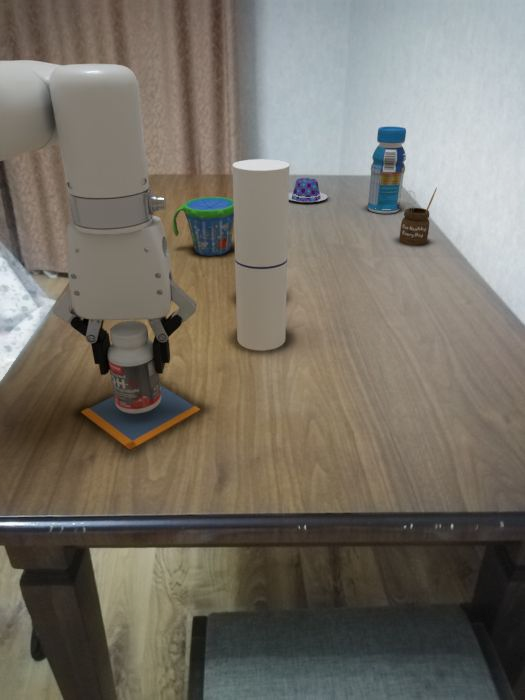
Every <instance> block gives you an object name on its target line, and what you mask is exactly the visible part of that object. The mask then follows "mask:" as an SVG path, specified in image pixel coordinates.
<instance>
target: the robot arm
mask: <svg viewBox="0 0 525 700" xmlns="http://www.w3.org/2000/svg"><path fill="white" fill-rule="evenodd" d="M141 101H142V100H141V94H140V86H139V81H138V78H137V76H136V74H135V72H134V71H133V70H131V68H129V67H128V66H125V65H121V64H114V63H75V64H73V63H72V64H65V65H64V64H63V65H62V64H56V63H51V62H45V61H39V60H31V59H17V60H15V59H14V60H0V162H2V161H6V160H10V159H13V158H16V157H19V156H22V155H24V154H28V153H31V152H35V151H40V150H43V149H46V148H49V147H50V148H51V147H53V146H59V150H60V151H59V152H60V157H61V162H62V169H63V172H64V179H65V185H66V190H67V195H68V201H69V207H70V212H71V213H70V214H71V217H72V219H71V220H70V221H69V222H68V224H67V229H66V254H67V255H66V261H67V262H66V263H67V275H68V285H69V288H68V289H67V290H66V292H65V293H64V294H63V295H62V297H61V298H60V300H58V302H57V303H56V305H55V306H54V308H53V309H52V312H53V314H54V315H55V316H56V317H58V318H59V319H61V320H62V321H64V322H66V323H68V324H69V325H70V327H72V328H73V329H74V330H75V331H77V332H78V333H80V334H81V335H82V336H83V337H85V341H86V342H87V343H89V344H91V351H92V356H93V363H94V364H95V365H98V367H99V373H100V375H101V376H105V375H107V374H108V373H110V369H109V363H108V357H107V352H108V349H109V347H110V346H111V345H112V344H111V338H110V332H108V330H105V329H104V325H105V321H113V320H114V321H115V320H116V321H119V320H122V321H123V320H124V321H132V320H147V322H148V324H149V326H150V328H151V331H152V332H153V335H154V338H153V340H152V342H153V353H154V362H155V370H156V373H158V374H159V375H162V374H163V373H164V370H165V365H166V364H170V362H171V349H170V340H169V337H171V336H172V335H173V334H174V333H175V332H176V331H177V330H178V329H179V328H180V326H182V324H183V323H184V322H186V321H187V320H188V319H189V318H191V317H192V316H193V315H194V314H195V313H196V312H197V307H198V304H197V303H196V301H195V300H194V299H193V298H192V297H191V296H189V295H188V293H186V291H184V289H182V288H181V287H180V286H179V285H178V284H177V283H176V282H175V281H174V275H173V274H174V273H173V268H172V267H173V266H172V260H171V254H170V250H169V244H168V239H167V236H166V232H165V229H164V225H163V223H162V222H163V221H162V218H161V217H159V216H156V215H154V214H155V213H156V212H157V213H158V212H159V211H166V210H167V198H166V196H165V195H158V194H154V191H152V187H151V186H150V181H149V170H148V161H147V151H146V141H145V133H144V123H143V122H144V121H143V111H142V103H141ZM172 302H173V303H174V304H175V305H176V306H177V307H178V308H177V309H176V310H175V311H173V312H172V313H171V304H172ZM170 313H171V314H170ZM169 314H170V315H169ZM168 315H169V316H168Z"/></svg>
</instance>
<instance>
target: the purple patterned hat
mask: <svg viewBox="0 0 525 700" xmlns="http://www.w3.org/2000/svg"><path fill="white" fill-rule="evenodd" d="M293 194H296V195H298V196H305V197H311V196H317V195H318V194H320V196H318V197H315V198H313V197H312V198H299V197H296V196H293ZM326 199H328V195H327V194H325V193H322V192H321V191H320V187H319V182H318V180H317V179H315V178H312V177H301V178H298V179H296V181H295V183H294V187H293V191H291V192H290V191H289V201H293V202H296V203H306V204H307V203H316V202H322V201H324V200H325V201H326Z"/></svg>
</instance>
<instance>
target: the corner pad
mask: <svg viewBox="0 0 525 700" xmlns="http://www.w3.org/2000/svg"><path fill="white" fill-rule="evenodd" d="M160 387H161V401H160V403H159V404H158V405H157V406H156V407H155V408H153V409H152V410H150V411H147V412H143V413H136V414H133V413H126V412H123V411H121V410H120V409H118V407H117V406H116V404H115V399H114V395H113V396H111V397H109V398H107V399H105V400H103V401H101V402H98V403H96V404H95V405H93V406H90V407H88V408H85V409H83V410H81V414H82V415H84V416H85V417H86V418H87V419H88V420H90V421H91V422H92V423H94V424H95V425H96V426H98V428H100V429H101V430H102V431H104V432H105V433H107V434H108V435H109V436H110V437H112V438H113V439H114V440H116V441H117V442H118V443H120V445H122V446H123V447H125V448H126V449H127V450H129V451H130V452H131V451H133V450H134V449H137V448H138V447H140V446H142V445H143V444H145V443H147V442H149V441H150V440H152V439H154V438H155V437H157V436H159V435H161V434H163V433H164V432H166V431H167V430H169V429H171V428H173V427H175V426H176V425H178V424H180V423H181V422H184V421H185V420H187V419H189V418H190V417H192V416H194V415H195V414H197V413H199V412H200V411H202V410H201V408H199V407H197V406H196V405H194V404H192V403H190V402H189V401H188V400H186V399H184V398H182V397H181V396H179V395H177V394H176V393H174V392H172V391H171V390H169V389H168V388H166V387H164V386H163V385H162V384H160Z"/></svg>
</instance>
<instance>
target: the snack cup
mask: <svg viewBox="0 0 525 700" xmlns="http://www.w3.org/2000/svg"><path fill="white" fill-rule="evenodd" d="M181 211H183V212H184V216H185V218H186V220H187V223H188V227H189V231H190V235H191V241H192V245H193V249H194V251H195V252H196V253H197V254H198V255H201V256H203V257H204V256H205V257H214V256H222V255H224V254H227V253H228V252H229V251H231V247H232V239H233V232H234V202H233V198H232V199H231V198H229V197H225V196H224V197H223V196H203V197H197V198H193V199H190V200H187V201H186V202H184V204H183V205H181V206H179V208H177V209H176V211H175V212H174V214H173V218H172V230H173V234H174V235H175V236H176V237H178V236H179V234H180V233H179V229H178V223H177V217H178V216H179V214H180V212H181Z"/></svg>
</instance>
